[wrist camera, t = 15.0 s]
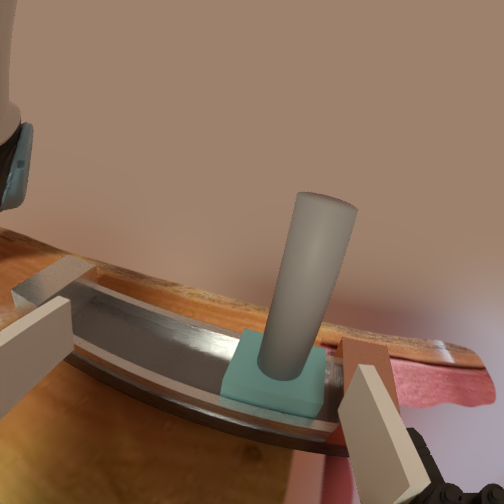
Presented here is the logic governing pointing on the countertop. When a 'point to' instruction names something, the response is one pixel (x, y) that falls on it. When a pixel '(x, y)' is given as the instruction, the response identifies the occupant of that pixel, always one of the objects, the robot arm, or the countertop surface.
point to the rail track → (187, 360)
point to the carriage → (295, 314)
